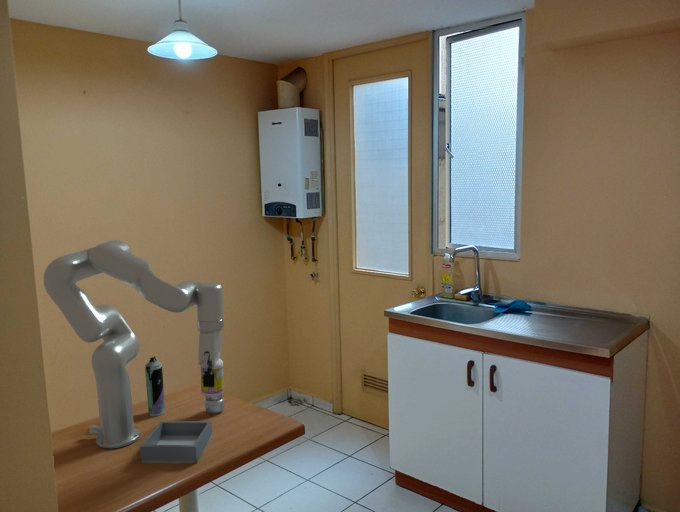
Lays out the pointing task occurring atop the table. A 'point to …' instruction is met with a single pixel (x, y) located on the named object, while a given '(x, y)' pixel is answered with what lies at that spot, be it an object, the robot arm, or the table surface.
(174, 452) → the box
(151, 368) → the spray can
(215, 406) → the plastic bottle
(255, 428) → the table surface
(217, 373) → the supplement bottle
